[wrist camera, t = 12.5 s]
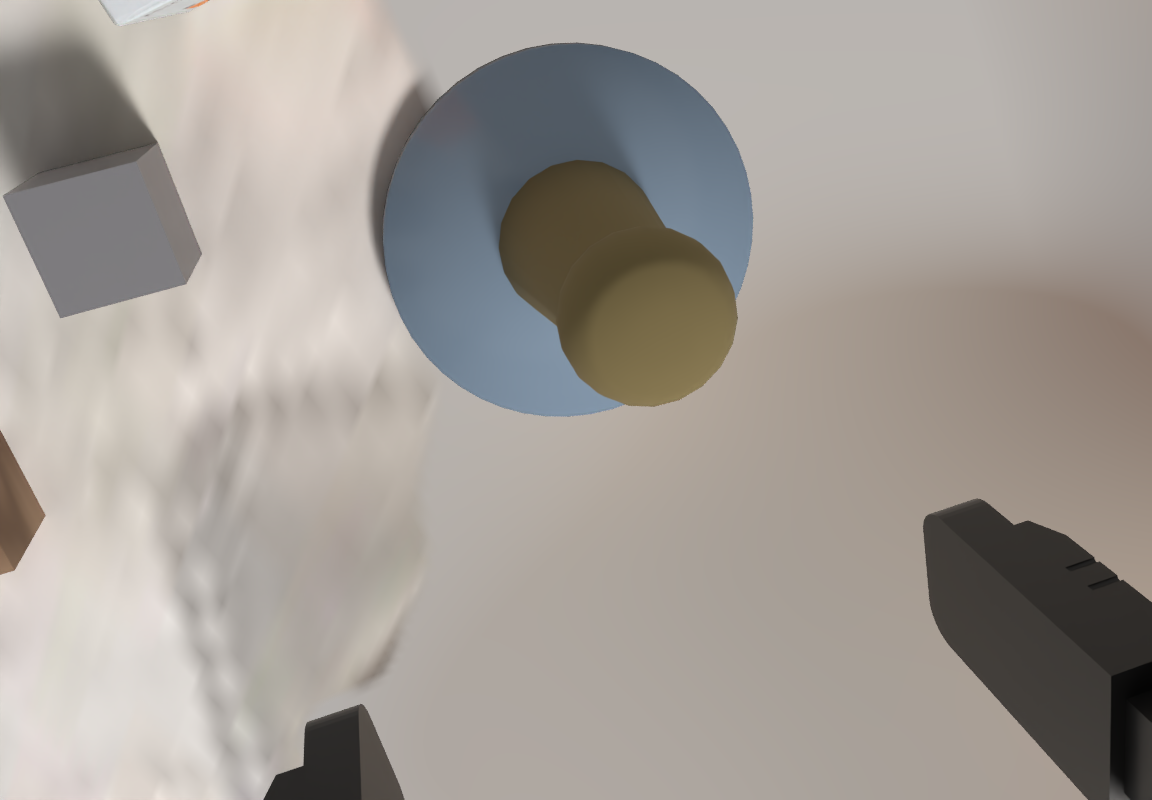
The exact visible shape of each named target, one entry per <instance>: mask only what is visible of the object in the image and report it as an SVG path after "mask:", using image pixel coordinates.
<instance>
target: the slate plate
mask: <svg viewBox="0 0 1152 800" xmlns="http://www.w3.org/2000/svg"><path fill="white" fill-rule="evenodd" d="M573 160H586V161H596V162H603V163H605V164H607V165H609V166H612V167H614V168H616V169H618V170H620V171H623V172H625V173H626V174H627V175H628V176H629V177H630V178H631V179H632V180H633V181H634V182H635V183H636V184H637V185H638V186H639V187H640V188H641V189H642V190H643V191H644V193H645V194H646V196H647V198H648V199H649V201H650V203H651V204H652V206H653V207H654V209H655V211H656V212H657V214H658V216H659V217H660V219H661V220H662V222H663V224H664V225H665V227H666V228H671V229H673V230H676V231H678V232H680V233H682V234H684V235H687V236H689V237H691V238H693V239H695V240H697V241H698V242H700V243H701V244H702V245H703V246H704V247H706V248H707V249H708V250H709V251H710V252H711V253H712V254H713V255H714V256H715V257H716V258H717V259H718V260H719V261H720V262H721V264H722V266H723V268H724V270H725V272H726V274H727V276H728V278H729V280H730V282H731V284H732V287H733V290H734V292H735V300H736V298H737V296H738V294H739V291H740V289H741V286H742V283H743V280H744V277H745V273H746V269H747V266H748V261H749V256H750V249H751V244H752V229H753V212H752V200H751V193H750V187H749V183H748V178H747V174H746V170H745V167H744V164H743V161H742V159H741V156H740V153H739V150H738V148H737V146H736V144H735V142H734V140H733V138H732V137H731V134H730V132H729V131H728V129H727V127H726V126H725V124H724V123H723V121H722V120H721V119H720V117H719V116H718V114H717V113H716V111H715V110H714V109H713V107H712V106H711V105H710V104H709V103H708V102H707V101H706V100H705V99H704V98H703V97H702V96H701V95H700V94H699V93H698V92H697V91H696V90H695V89H694V88H693V87H691V86H690V85H689V84H688V83H687V82H685V81H684V80H683V79H681V78H680V77H679V76H678V75H676V74H675V73H673V72H671V71H669V70H668V69H666V68H664V67H663V66H661V65H659V64H658V63H656V62H653V61H651V60H649V59H646V58H644V57H641V56H639V55H636V54H634V53H630V52H626V51H622V50H618V49H614V48H610V47H606V46H602V45H593V44H584V43H560V44H559V43H558V44H548V45H542V46H536V47H531V48H526V49H523V50H520V51H517V52H514V53H511V54H508V55H505V56H502V57H500V58H498V59H495V60H494V61H491V62H489V63H487V64H485V65H483V66H481V67H480V68H478V69H476V70H475V71H473V72H472V73H470V74H469V75H467V76H466V77H464V78H463V79H461V80H460V81H458V82H457V83H456V84H455V85H453V87H451V88H450V89H449V90H448V91H447V92H446V93H445V94H443V95H442V96H441V97H440V98H439V99H438V100H437V101H436V102H435V103H434V104H433V106H432V107H431V108H430V109H429V110H428V111H427V113H426V114H425V115H424V116H423V117H422V118H421V120H420V121H419V123H418V124H417V126H416V127H415V129H414V130H413V132H412V134H411V135H410V137H409V138H408V140H407V141H406V143H405V145H404V148H403V150H402V152H401V154H400V156H399V158H398V160H397V163H396V165H395V168H394V171H393V174H392V177H391V181H390V184H389V187H388V191H387V196H386V202H385V208H384V214H383V248H384V258H385V266H386V272H387V277H388V281H389V285H390V289H391V293H392V296H393V299H394V301H395V304H396V306H397V309H398V311H399V314H400V317H401V319H402V320H403V322H404V324H405V326H406V327H407V329H408V331H409V333H410V335H411V336H412V338H413V339H414V341H415V342H416V343H417V345H418V346H419V347H420V349H421V350H422V351H423V353H424V354H425V355H426V357H427V358H428V359H429V360H430V361H431V362H432V363H433V364H434V365H435V366H436V367H437V368H438V369H439V370H440V371H441V372H442V373H443V374H445V375H446V376H447V377H448V378H450V379H451V380H452V381H454V382H455V383H456V384H458V385H459V386H460V387H462V388H463V389H466V390H467V391H469V392H470V393H472V394H474V395H476V396H477V397H479V398H481V399H483V400H485V401H488V402H490V403H493V404H495V405H498V406H500V407H503V408H506V409H510V410H514V411H517V412H521V413H527V414H533V415H541V416H577V415H586V414H593V413H597V412H601V411H606V410H610V409H614V408H616V407H619V406H622V405H625V404H623V403H620V402H617V401H615V400H612V399H609V398H607V397H604V396H602V395H600V394H598V393H597V392H596V391H595V390H593V389H592V388H591V387H590V386H589V385H587V384H586V383H585V382H584V381H582V380H581V379H580V378H579V377H578V376H577V374H576V372H575V371H574V369H573V367H572V366H571V364H570V362H569V361H568V359H567V357H566V356H565V354H564V352H563V350H562V348H561V343H560V339H559V334H558V329H557V326H556V325H555V324H553V323H552V322H551V321H550V320H548V319H547V318H546V317H544V316H543V315H542V314H541V313H539V312H538V311H537V310H536V309H534V308H533V307H532V306H531V305H530V304H528V303H527V302H526V301H525V300H524V299H522V298H521V297H520V296H519V295H518V294H517V293H516V292H515V290H514V288H513V287H512V285H511V283H510V282H509V280H508V278H507V277H506V275H505V274H504V270H503V266H502V261H501V257H500V252H499V240H500V230H501V222H502V220H503V218H504V215H505V213H506V211H507V208H508V206H509V204H510V202H511V199H512V198H513V197H514V196H515V195H516V193H517V192H518V191H519V190H520V189H521V188H522V187H523V185H524V184H525V183H526V182H527V181H528V180H529V179H530V178H532V177H533V176H535V175H537V174H538V173H540V172H542V171H543V170H545V169H547V168H548V167H550V166H552V165H556V164H560V163H564V162H569V161H573Z"/></svg>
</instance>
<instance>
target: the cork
mask: <svg viewBox="0 0 1152 800" xmlns="http://www.w3.org/2000/svg"><path fill="white" fill-rule="evenodd" d="M499 252H500V257H501V261H502V266H503V270H504V274H505V275H506V277H507V278H508V280H509V282H510V283H511V285H512V287H513V288H514V290H515V292H516V293H517V294H518V295H519V296H520V297H521V298H522V299H524V300H525V301H526V302H527V303H528V304H530V305H531V306H532V307H533V308H534V309H536V310H537V311H538V312H539V313H541V314H542V315H543V316H544V317H546V318H547V319H548V320H550V321H551V322H552V323H553V324H555V325H556V326H557V329H558V334H559V339H560V343H561V348H562V350H563V352H564V354H565V356H566V357H567V359H568V361H569V362H570V364H571V366H572V367H573V369H574V371H575V372H576V374H577V376H578V377H579V378H580V379H581V380H582V381H584V382H585V383H586V384H587V385H589V386H590V387H591V388H592V389H593V390H595V391H596V392H597V393H598V394H600V395H602V396H604V397H607V398H609V399H612V400H615V401H617V402H620V403H623V404H626V405H629V406H651V407H652V406H653V407H654V406H658V405H662V404H666V403H670V402H674V401H677V400H680V399H682V398H683V397H685V396H687V395H689V394H690V393H692V392H693V391H695V390H697V389H699V388H700V387H702V386H703V385H704V384H705V383H706V382H707V381H708V380H709V378H711V377H712V375H713V374H714V373H715V372H716V371H717V370H718V369H719V368H720V367H721V365H722V363H723V361H724V359H725V357H726V355H727V354H728V352H729V350H730V348H731V346H732V344H733V340H734V335H735V329H736V324H737V319H738V317H737V308H736V300H735V292H734V290H733V287H732V284H731V282H730V280H729V278H728V276H727V274H726V272H725V270H724V268H723V266H722V264H721V262H720V261H719V260H718V259H717V258H716V257H715V256H714V255H713V254H712V253H711V252H710V251H709V250H708V249H707V248H706V247H704V246H703V245H702V244H701V243H700V242H698V241H697V240H695V239H693V238H691V237H689V236H687V235H684V234H682V233H680V232H678V231H676V230H673V229H671V228H666V227H665V225H664V224H663V222H662V220H661V219H660V217H659V216H658V214H657V212H656V211H655V209H654V207H653V206H652V204H651V203H650V201H649V199H648V198H647V196H646V194H645V193H644V191H643V190H642V189H641V188H640V187H639V186H638V185H637V184H636V183H635V182H634V181H633V180H632V179H631V178H630V177H629V176H628V175H627V174H626V173H625V172H623V171H620V170H618V169H616V168H614V167H612V166H609V165H607V164H605V163H603V162H596V161H586V160H573V161H569V162H564V163H560V164H556V165H552V166H550V167H548V168H547V169H545V170H543V171H542V172H540V173H538V174H537V175H535V176H533V177H532V178H530V179H529V180H528V181H527V182H526V183H525V184H524V185H523V187H522V188H521V189H520V190H519V191H518V192H517V193H516V195H515V196H514V197H513V198H512V199H511V202H510V204H509V206H508V208H507V211H506V213H505V215H504V218H503V220H502V222H501V230H500V240H499Z"/></svg>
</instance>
